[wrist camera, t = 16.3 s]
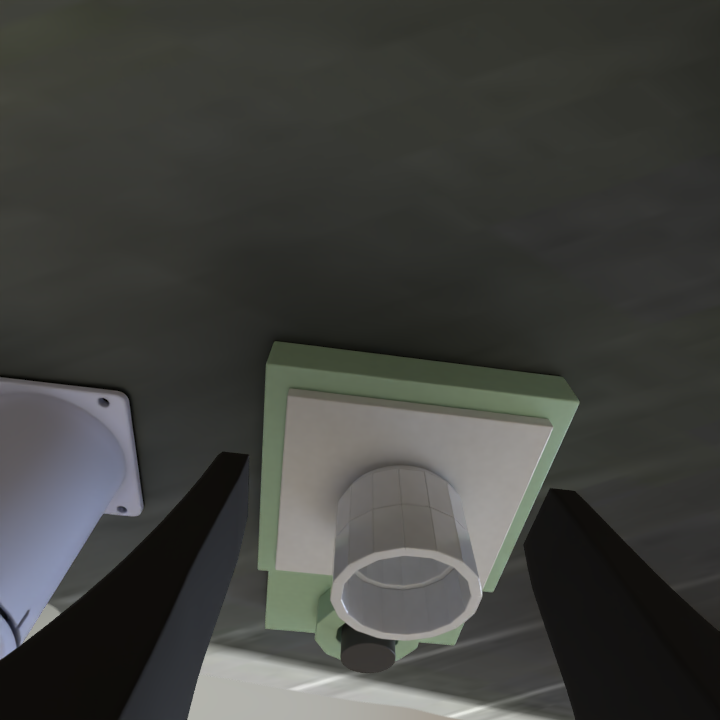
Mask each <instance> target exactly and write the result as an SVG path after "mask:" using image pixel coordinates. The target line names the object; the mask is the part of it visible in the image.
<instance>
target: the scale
mask: <svg viewBox="0 0 720 720" xmlns="http://www.w3.org/2000/svg"><path fill="white" fill-rule="evenodd" d="M578 405H579V400H578V398H577V397H576V396H575V394H574V393H573V391H572V390H571V388H570V387H569V385H568V384H567V382H566V381H565V380H564V378H563V377H559V376H551V375H543V374H535V373H527V372H519V371H511V370H503V369H495V368H487V367H479V366H471V365H463V364H455V363H447V362H439V361H431V360H423V359H415V358H407V357H399V356H391V355H383V354H375V353H367V352H359V351H351V350H343V349H335V348H327V347H319V346H311V345H303V344H295V343H287V342H279V341H275V342H274V343H273V346H272V349H271V352H270V354H269V357H268V360H267V362H266V373H265V397H264V422H263V447H262V471H261V496H260V521H259V545H258V570H265V571H276V572H286V573H296V574H307V575H317V576H328V577H331V575H332V561H333V548H334V533H335V519H336V512H337V506H338V502H339V499H340V498H341V497H342V496H343V494H344V493H345V492H346V491H347V489H348V488H349V487H350V486H351V484H352V483H353V482H354V481H355V480H357V479H358V478H359V477H361V476H362V475H364V474H365V473H368V472H370V471H372V470H375V469H377V468H381V467H385V466H392V465H409V466H416V467H420V468H423V469H426V470H429V471H431V472H433V473H435V474H437V475H438V476H439V477H441V478H442V479H443V480H445V481H447V482H448V484H449V485H450V486H451V487H452V488H453V489H454V490H455V491H456V492H457V494H458V495H459V496H460V498H461V502H462V507H463V511H464V515H465V520H466V524H467V528H468V532H469V537H470V541H471V545H472V550H473V554H474V558H475V562H476V567H477V571H478V575H479V580H480V585H481V589H482V591H484V592H493V591H494V589H495V587H496V585H497V583H498V580H499V578H500V576H501V574H502V572H503V569H504V567H505V565H506V563H507V561H508V558H509V556H510V554H511V552H512V550H513V548H514V545H515V543H516V541H517V539H518V537H519V534H520V532H521V530H522V528H523V526H524V523H525V521H526V519H527V517H528V515H529V513H530V510H531V508H532V506H533V504H534V502H535V499H536V497H537V495H538V493H539V491H540V488H541V486H542V484H543V482H544V480H545V477H546V475H547V473H548V471H549V469H550V467H551V464H552V462H553V460H554V458H555V456H556V453H557V451H558V449H559V447H560V445H561V442H562V440H563V438H564V436H565V434H566V431H567V429H568V427H569V425H570V423H571V421H572V418H573V416H574V414H575V412H576V410H577V407H578Z"/></svg>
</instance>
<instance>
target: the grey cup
mask: <svg viewBox="0 0 720 720" xmlns="http://www.w3.org/2000/svg"><path fill="white" fill-rule="evenodd" d="M482 595H483V594H482V589H481V585H480V580H479V575H478V571H477V567H476V562H475V558H474V554H473V550H472V545H471V541H470V537H469V532H468V528H467V524H466V520H465V515H464V511H463V507H462V502H461V498H460V496H459V495H458V494H457V492H456V491H455V490H454V489H453V488H452V487H451V486H450V485H449V484H448V482H447V481H445V480H443V479H442V478H441V477H439V476H438V475H437V474H435V473H433V472H431V471H429V470H426V469H423V468H420V467H416V466H409V465H392V466H385V467H381V468H377V469H375V470H372V471H370V472H368V473H365V474H364V475H362V476H361V477H359V478H358V479H357V480H355V481H354V482H353V483H352V484H351V486H350V487H349V488H348V489H347V491H346V492H345V493H344V494H343V496H342V497H341V498H340V499H339V502H338V506H337V512H336V519H335V533H334V548H333V561H332V575H331V589H330V601H331V603H332V605H333V607H334V609H335V611H336V613H337V616H338V617H339V618H340V619H341V620H343V621H344V622H345V623H347V624H348V625H349V626H351V627H352V628H353V629H354V630H356V631H359V632H362V633H365V634H368V635H371V636H373V637H376V638H380V639H390V640H401V641H406V640H407V641H410V640H418V639H425V638H432V637H436V636H438V635H441V634H443V633H446V632H449V631H451V630H454V629H456V628H457V627H459V626H460V625H462V624H463V623H464V622H465V621H467V620H468V619H469V618H470V617H471V616H473V615H474V613H475V612H476V610H477V608H478V605H479V603H480V601H481V599H482Z"/></svg>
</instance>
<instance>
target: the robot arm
mask: <svg viewBox="0 0 720 720" xmlns="http://www.w3.org/2000/svg"><path fill="white" fill-rule="evenodd" d="M102 398H105V399H107V400H108V401H109V402H106V401H104V400H103V399H102ZM248 485H249V455H248V454H239V453H230V452H222V453H220V454H219V455H218V456H217V457H216V458H215V460H214V461H213V462H212V464H211V465H210V466H209V467H208V469H207V470H206V471H205V473H204V474H203V475H202V476H201V478H200V479H199V480H198V481H197V482H196V484H195V485H194V486H193V487H192V488H191V490H190V491H189V492H188V493H187V494H186V495H185V497H184V498H183V499H182V500H181V501H180V502H179V503H178V504H177V505H176V506H175V508H174V509H173V510H172V511H171V512H170V513H169V514H168V515H167V516H166V518H165V519H164V520H163V521H162V522H161V523H160V524H159V525H158V526H157V527H156V528H155V529H154V530H153V531H152V532H151V533H150V534H149V535H148V536H147V537H146V538H145V539H144V540H143V541H142V542H141V543H140V544H139V545H138V546H137V547H136V548H135V549H134V550H133V551H132V552H131V553H130V554H129V555H128V556H127V557H126V558H125V559H124V560H123V561H122V562H121V563H119V564H118V565H117V566H116V567H115V568H114V569H113V570H112V571H111V572H110V573H109V574H107V575H106V576H105V577H104V578H103V579H102V580H101V581H100V582H98V583H97V584H96V585H95V586H94V587H93V588H92V589H90V590H89V591H88V592H87V593H86V594H85V595H83V596H82V597H81V598H80V599H79V600H77V601H76V602H75V603H74V604H72V605H71V606H70V607H69V608H68V609H66V610H65V611H64V612H63V613H61V614H60V615H59V616H58V617H56V618H55V619H54V620H53V621H52V622H50V623H49V624H48V625H46V626H45V627H44V628H43V629H41V630H40V631H39V632H37V633H36V634H35V635H34V636H32V637H31V638H30V639H28V640H27V641H26V642H25V643H23V642H24V640H25V638H26V637H27V635H28V633H29V632H30V630H31V629H32V627H33V626H34V624H35V622H36V621H37V619H38V618H39V616H40V614H41V613H42V611H43V609H44V608H45V606H46V605H47V603H48V601H49V600H50V598H51V597H52V595H53V593H54V592H55V590H56V589H57V587H58V585H59V584H60V582H61V581H62V579H63V577H64V576H65V574H66V572H67V571H68V569H69V568H70V566H71V564H72V563H73V561H74V560H75V558H76V556H77V555H78V553H79V552H80V550H81V548H82V547H83V545H84V544H85V542H86V540H87V539H88V537H89V535H90V534H91V532H92V531H93V529H94V527H95V526H96V524H97V523H98V521H99V519H100V518H101V516H102V515H103V514H113V515H123V516H138V515H140V514H141V512H142V510H143V507H144V505H143V498H142V491H141V484H140V476H139V469H138V462H137V454H136V447H135V440H134V433H133V425H132V418H131V411H130V403H129V399H128V397H127V396H126V395H125V394H124V393H122V392H120V391H115V390H107V389H98V388H90V387H81V386H72V385H64V384H55V383H47V382H38V381H29V380H21V379H12V378H4V377H0V720H187V718H188V714H189V710H190V706H191V702H192V698H193V694H194V690H195V686H196V683H197V679H198V676H199V673H200V669H201V666H202V663H203V660H204V656H205V654H206V651H207V648H208V645H209V642H210V639H211V636H212V633H213V630H214V627H215V624H216V622H217V619H218V616H219V613H220V610H221V607H222V604H223V601H224V598H225V595H226V593H227V590H228V587H229V584H230V581H231V578H232V575H233V572H234V569H235V566H236V563H237V560H238V556H239V552H240V548H241V544H242V539H243V535H244V530H245V526H246V522H247V517H248ZM523 545H524V550H525V556H526V561H527V566H528V571H529V575H530V580H531V584H532V588H533V592H534V595H535V598H536V601H537V604H538V607H539V610H540V613H541V616H542V619H543V622H544V625H545V628H546V631H547V634H548V637H549V639H550V642H551V645H552V648H553V651H554V654H555V657H556V660H557V663H558V666H559V669H560V672H561V674H562V677H563V680H564V683H565V686H566V689H567V692H568V696H569V699H570V702H571V706H572V709H573V712H574V716H575V720H720V632H719V631H718V630H716V629H715V628H714V627H713V626H712V625H711V624H710V623H708V622H707V621H706V620H705V619H704V618H703V617H702V616H701V615H700V614H698V613H697V612H696V611H695V610H694V609H693V608H692V607H691V606H690V605H689V604H688V603H687V602H686V601H684V600H683V599H682V598H681V597H680V596H679V595H678V594H677V593H676V592H675V591H674V590H673V589H672V588H671V587H670V586H669V585H667V584H666V583H665V582H664V581H663V580H662V579H661V578H660V577H659V576H658V575H657V574H656V573H655V572H654V571H653V570H652V569H651V568H650V567H649V566H648V565H647V564H646V563H645V562H644V561H643V560H642V559H641V558H640V557H639V556H638V555H637V554H636V553H635V552H634V551H633V550H632V549H631V548H630V547H629V546H628V545H627V544H626V543H625V542H624V541H623V539H622V538H621V537H620V536H619V535H618V534H617V533H616V532H615V531H614V530H613V529H612V528H611V527H610V526H609V525H608V524H607V523H606V522H605V521H604V520H603V519H602V518H601V517H600V516H599V515H598V514H597V513H596V512H595V511H594V510H593V508H592V507H591V506H590V505H589V504H588V503H587V502H586V501H585V500H584V499H583V498H582V497H580V496H579V495H578V494H577V493H576V492H575V491H571V490H562V489H553V488H550V490H549V492H548V494H547V496H546V498H545V500H544V502H543V504H542V506H541V509H540V511H539V513H538V515H537V517H536V519H535V521H534V523H533V525H532V528H531V530H530V532H529V534H528V536H527V538H526V540H525V542H524V544H523ZM22 643H23V644H22Z"/></svg>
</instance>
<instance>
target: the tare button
mask: <svg viewBox="0 0 720 720" xmlns="http://www.w3.org/2000/svg"><path fill="white" fill-rule="evenodd" d="M340 658H341V662H342V663H343V665H344V666H346V667H347V668H348V669H350V670H353V671H356V672H361V673H376V672H381V671H384V670H386V669H388V668H390V667H391V666H392V665H393V664H394V662H395V659H396V654H395V640H390V639H380V638H376V637H373V636H371V635H368V634H365V633H362V632H359V631H356V630H354V629H353V628H352V627H351V626H349V625H348V624H347V623H345V624H344V625H343V627H342V632H341V654H340Z"/></svg>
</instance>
